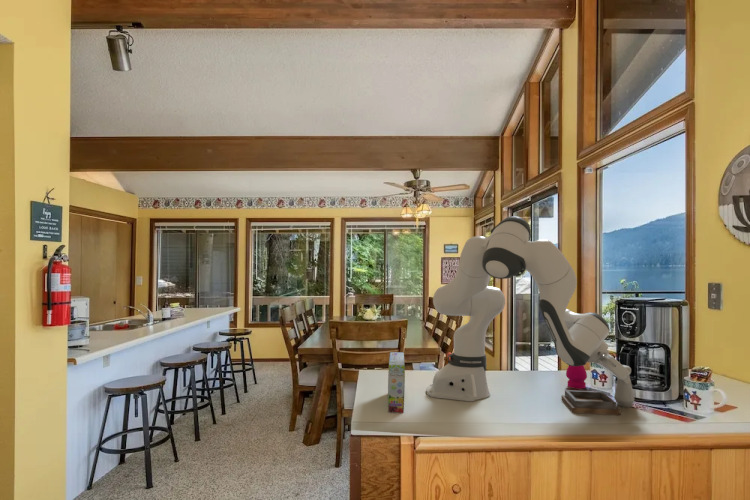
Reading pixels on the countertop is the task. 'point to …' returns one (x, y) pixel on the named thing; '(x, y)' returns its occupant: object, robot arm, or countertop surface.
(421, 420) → the countertop surface
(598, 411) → the tray
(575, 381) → the pepper mill
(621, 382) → the salt shaker
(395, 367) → the snack box
